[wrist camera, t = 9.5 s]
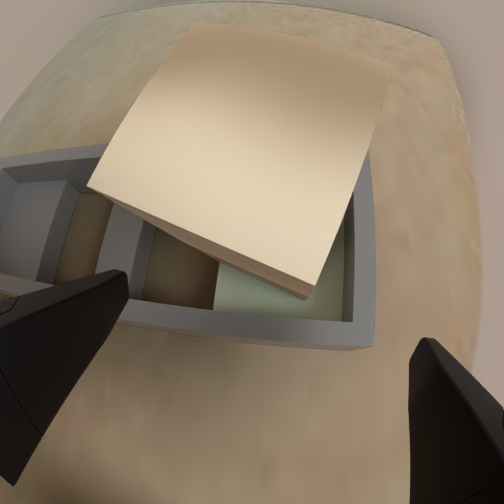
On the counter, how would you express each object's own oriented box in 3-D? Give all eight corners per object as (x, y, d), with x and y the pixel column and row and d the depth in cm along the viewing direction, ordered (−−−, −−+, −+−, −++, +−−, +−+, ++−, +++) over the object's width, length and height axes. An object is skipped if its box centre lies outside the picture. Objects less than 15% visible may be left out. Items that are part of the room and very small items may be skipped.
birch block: (305, 300, 16) (314, 285, 5) (217, 261, 17) (87, 185, 6) (342, 211, 16) (393, 65, 5) (256, 178, 17) (195, 22, 6)
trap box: (349, 350, 16) (373, 346, 12) (-4, 291, 19) (-42, 276, 15) (352, 192, 20) (368, 150, 15) (29, 184, 23) (0, 159, 18)
